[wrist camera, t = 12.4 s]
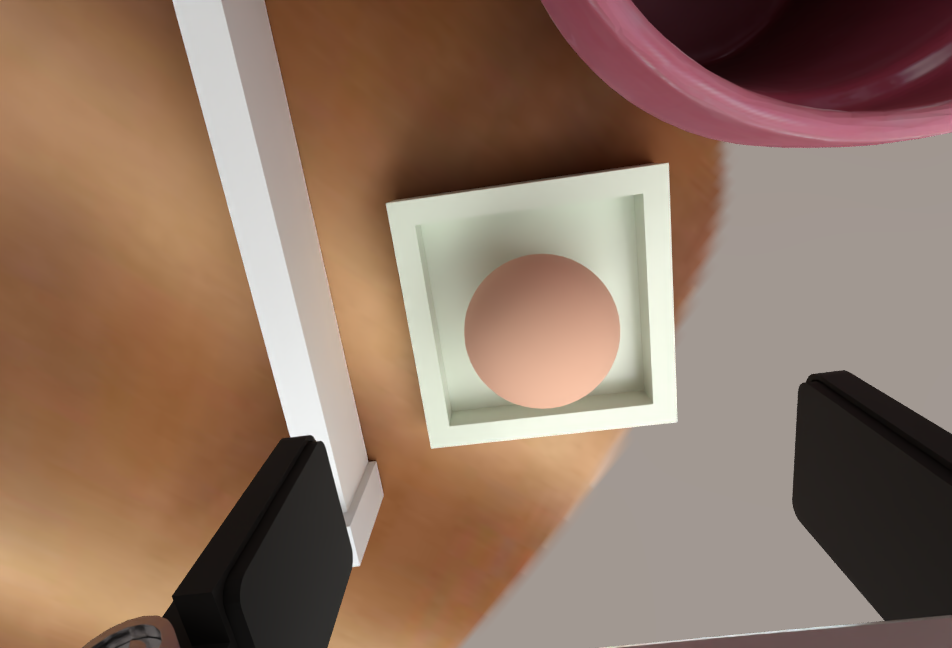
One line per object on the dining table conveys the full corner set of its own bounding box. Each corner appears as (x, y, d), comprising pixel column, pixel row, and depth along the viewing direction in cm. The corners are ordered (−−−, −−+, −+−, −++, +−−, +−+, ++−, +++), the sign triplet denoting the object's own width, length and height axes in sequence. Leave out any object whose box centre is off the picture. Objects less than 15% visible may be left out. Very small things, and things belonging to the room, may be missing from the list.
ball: (459, 252, 23) (446, 283, 17) (598, 233, 22) (633, 259, 17) (478, 379, 25) (472, 446, 19) (607, 364, 24) (642, 428, 18)
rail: (191, -89, 20) (95, -168, 15) (252, -101, 20) (174, -184, 15) (338, 499, 27) (305, 570, 23) (383, 494, 27) (359, 565, 22)
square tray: (395, 200, 23) (385, 203, 21) (653, 162, 22) (668, 163, 20) (436, 427, 26) (431, 448, 24) (663, 402, 25) (677, 422, 23)
